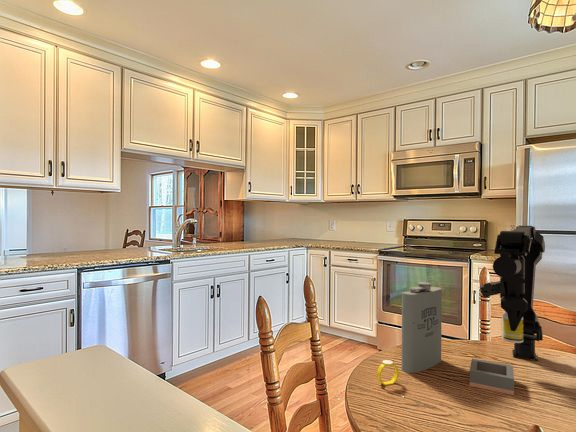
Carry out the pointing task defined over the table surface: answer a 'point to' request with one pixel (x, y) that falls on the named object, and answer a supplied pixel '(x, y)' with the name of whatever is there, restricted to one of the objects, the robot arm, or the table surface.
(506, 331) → the supplement bottle
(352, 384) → the table surface
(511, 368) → the socket block
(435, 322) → the flask
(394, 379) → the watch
